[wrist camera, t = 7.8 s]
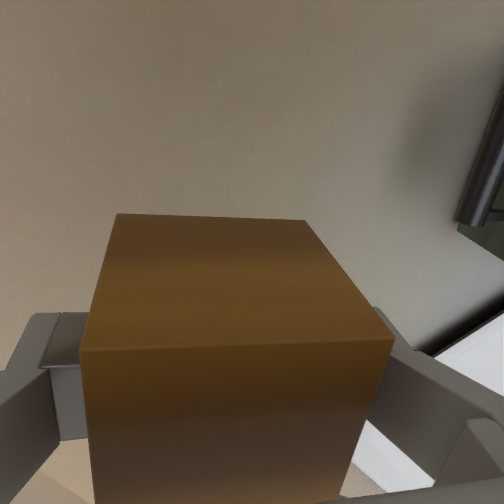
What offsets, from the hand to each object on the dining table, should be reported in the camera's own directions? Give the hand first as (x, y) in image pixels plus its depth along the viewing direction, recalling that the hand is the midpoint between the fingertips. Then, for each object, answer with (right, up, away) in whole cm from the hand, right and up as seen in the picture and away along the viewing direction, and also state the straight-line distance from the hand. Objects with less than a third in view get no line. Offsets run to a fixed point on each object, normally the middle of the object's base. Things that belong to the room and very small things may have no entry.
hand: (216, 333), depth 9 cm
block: (0, +1, +1) cm, 2 cm away
